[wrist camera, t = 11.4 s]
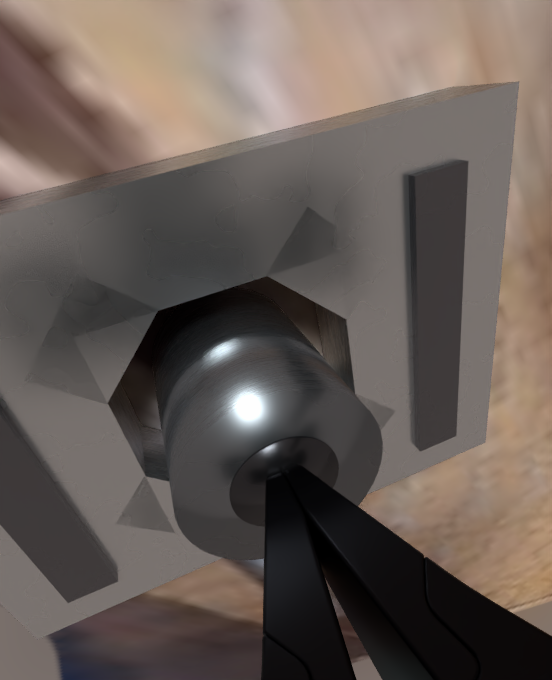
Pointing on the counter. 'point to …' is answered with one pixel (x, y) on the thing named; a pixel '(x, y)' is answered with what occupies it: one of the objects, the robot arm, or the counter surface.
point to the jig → (225, 272)
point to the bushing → (251, 418)
